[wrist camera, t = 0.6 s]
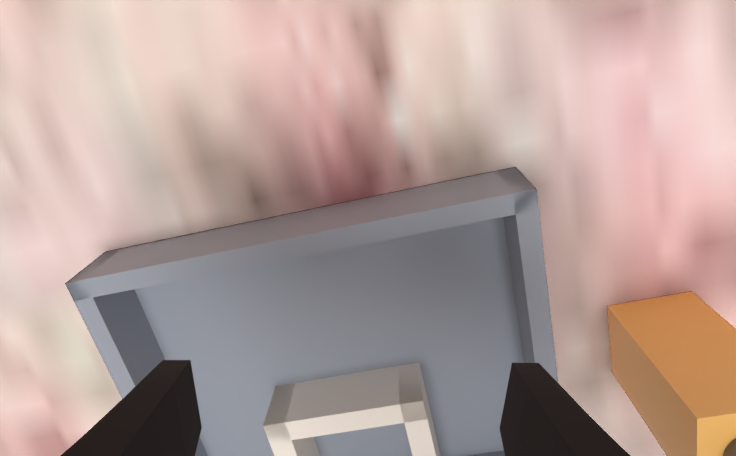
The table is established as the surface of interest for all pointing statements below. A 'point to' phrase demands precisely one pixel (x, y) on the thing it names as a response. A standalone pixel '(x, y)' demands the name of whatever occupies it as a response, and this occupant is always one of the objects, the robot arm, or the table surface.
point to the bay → (339, 320)
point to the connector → (678, 371)
